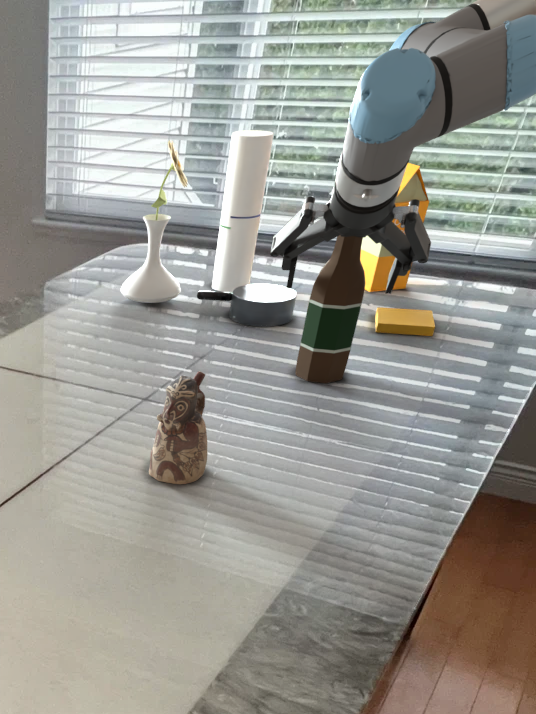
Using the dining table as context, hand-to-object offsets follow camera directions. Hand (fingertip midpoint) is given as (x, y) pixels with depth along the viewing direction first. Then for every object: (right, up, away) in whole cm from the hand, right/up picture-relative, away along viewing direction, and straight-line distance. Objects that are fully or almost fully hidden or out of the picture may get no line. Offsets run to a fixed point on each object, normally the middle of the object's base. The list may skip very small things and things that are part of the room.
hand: (339, 282), depth 121 cm
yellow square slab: (+21, +5, +24) cm, 32 cm away
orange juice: (+24, +21, +42) cm, 53 cm away
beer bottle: (0, -10, +9) cm, 13 cm away
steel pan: (-5, +10, +30) cm, 32 cm away
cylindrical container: (-4, +22, +44) cm, 49 cm away
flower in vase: (-20, +18, +40) cm, 48 cm away
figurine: (-27, -32, -14) cm, 44 cm away
